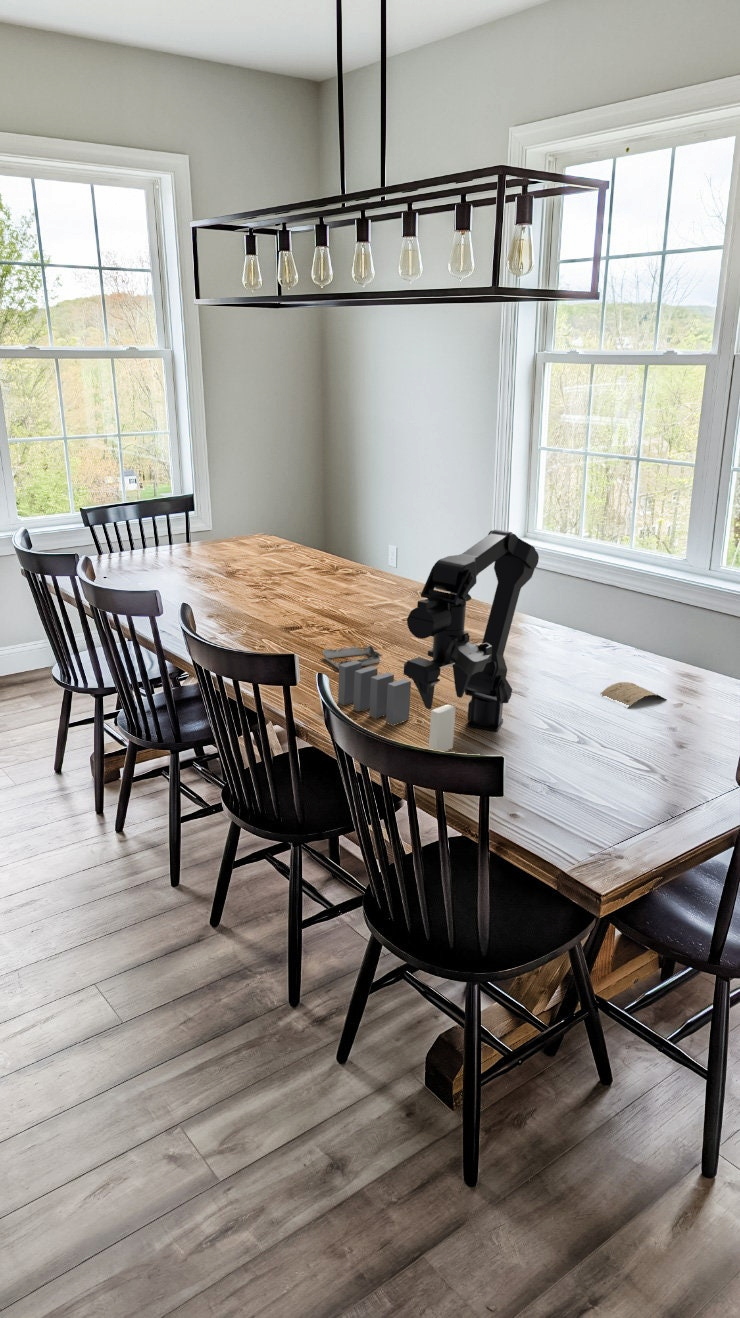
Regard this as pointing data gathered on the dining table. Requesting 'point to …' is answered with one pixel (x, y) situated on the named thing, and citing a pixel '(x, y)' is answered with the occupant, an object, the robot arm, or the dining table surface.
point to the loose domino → (442, 728)
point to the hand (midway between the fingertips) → (444, 702)
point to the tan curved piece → (626, 692)
